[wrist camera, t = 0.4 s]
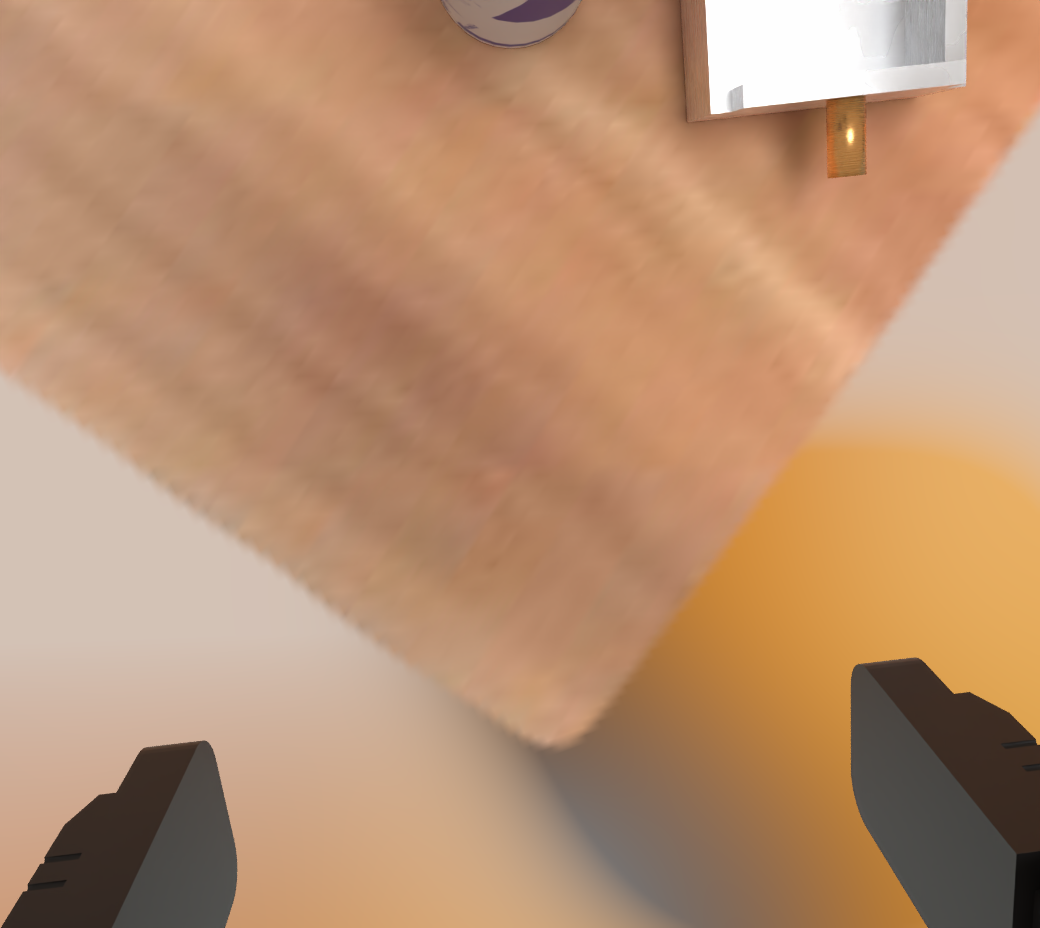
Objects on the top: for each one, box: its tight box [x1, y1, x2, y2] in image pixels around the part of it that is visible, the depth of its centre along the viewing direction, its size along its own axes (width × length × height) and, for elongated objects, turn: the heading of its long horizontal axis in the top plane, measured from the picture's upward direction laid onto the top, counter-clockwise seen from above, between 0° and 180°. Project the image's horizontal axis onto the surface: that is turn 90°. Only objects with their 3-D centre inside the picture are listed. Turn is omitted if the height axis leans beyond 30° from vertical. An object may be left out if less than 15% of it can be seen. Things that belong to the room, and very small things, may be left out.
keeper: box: [680, 0, 967, 178], centre depth 32 cm, size 11×8×5 cm
